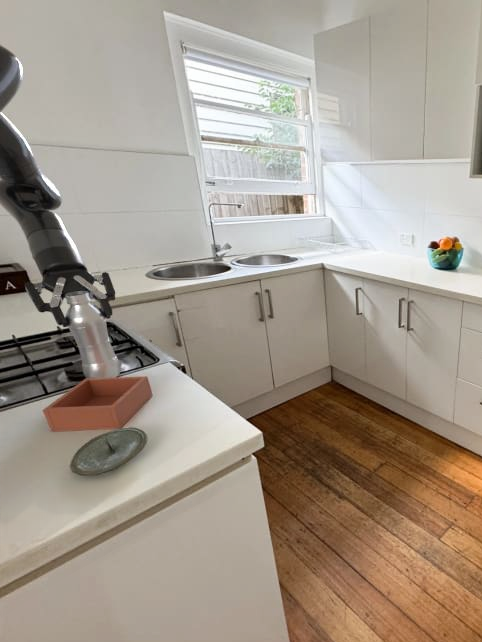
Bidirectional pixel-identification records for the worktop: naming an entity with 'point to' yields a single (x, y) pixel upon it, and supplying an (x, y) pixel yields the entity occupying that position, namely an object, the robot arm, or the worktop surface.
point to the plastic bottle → (91, 336)
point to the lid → (108, 451)
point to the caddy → (98, 404)
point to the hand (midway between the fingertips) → (87, 320)
